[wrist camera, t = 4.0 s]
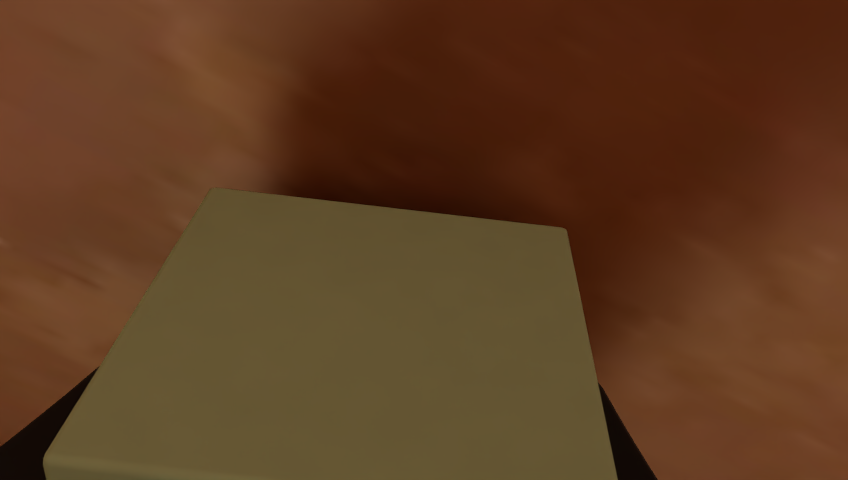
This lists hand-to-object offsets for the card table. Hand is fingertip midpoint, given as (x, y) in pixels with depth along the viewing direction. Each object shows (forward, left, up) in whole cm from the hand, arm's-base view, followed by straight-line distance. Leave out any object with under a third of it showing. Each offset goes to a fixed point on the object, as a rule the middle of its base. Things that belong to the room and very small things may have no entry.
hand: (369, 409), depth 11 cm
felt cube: (0, 0, -1) cm, 1 cm away
